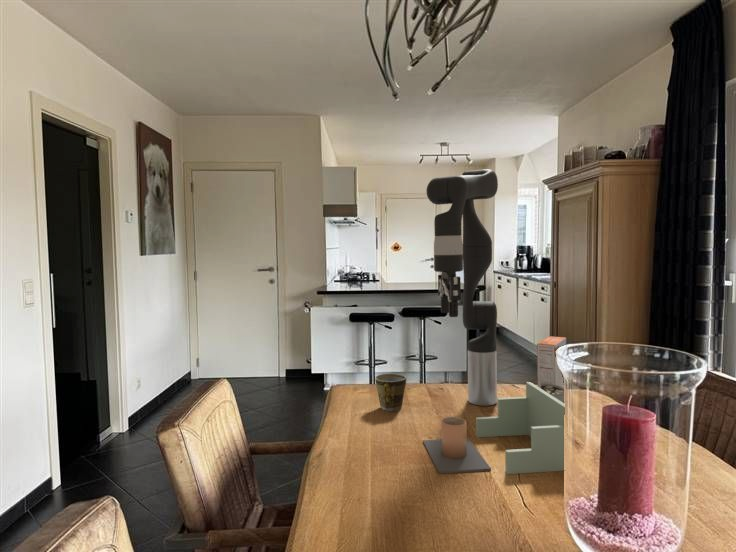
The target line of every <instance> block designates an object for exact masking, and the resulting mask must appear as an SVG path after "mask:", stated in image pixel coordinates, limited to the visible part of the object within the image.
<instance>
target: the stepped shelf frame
mask: <svg viewBox="0 0 736 552" xmlns="http://www.w3.org/2000/svg"><path fill="white" fill-rule="evenodd" d="M565 404H566V403H565V402H564V403H563V402H561V401H560V400H558V399H556V398H555V397H553V396H552V395H550V394H549V393H547V392H545V391H544V390H542V389H541V388H539V387H538V385H536V384H534V383H532V382H530V381H526V382H525V396H517V397H516V396H513V397H497V416H496V415H495V416H484V417H483V416H480V417H479V416H478V417H475V430H476V431H475V436H476V438H494V437H496V438H497V437H508V436H509V437H512V436H524V435H525V436H526V435H528V436H529V437H530V448H517V449H515V448H514V449H505V454H504V455H505V457H504V458H505V463H504V464H505V468H504V469H505V473H506V474H507V475H513V474H529V473H530V474H531V473H543V472H544V473H545V472H546V473H547V472H561V471H565V470H564V415H565Z"/></svg>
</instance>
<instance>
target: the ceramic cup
mask: <svg viewBox="0 0 736 552" xmlns="http://www.w3.org/2000/svg"><path fill="white" fill-rule="evenodd" d="M374 379H375V386H376V390H377V395H378V401H379V406H380V409H381V408H382V409H381V410H383V411H384V410H385V411H384V412H392V411H393V412H396V410H398V411H401V410H402V407H403V402H404V395H405V391H406V390H405V389H406V386H407V385H406V384H407V376H406V375H404V374H401V373H382V374H379V375H378V374H377V375H376V376H375V378H374Z"/></svg>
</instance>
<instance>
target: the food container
mask: <svg viewBox="0 0 736 552" xmlns="http://www.w3.org/2000/svg"><path fill="white" fill-rule="evenodd" d="M541 389H542V390H544V391H545V392H547V393H549V394H550V395H552V396H553V397H555V398H556V399H558V400H560V401H561V402H563V403H564V404H565V402H564V388H562V387H560V386H557V385H553V384H546V383H541Z"/></svg>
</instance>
